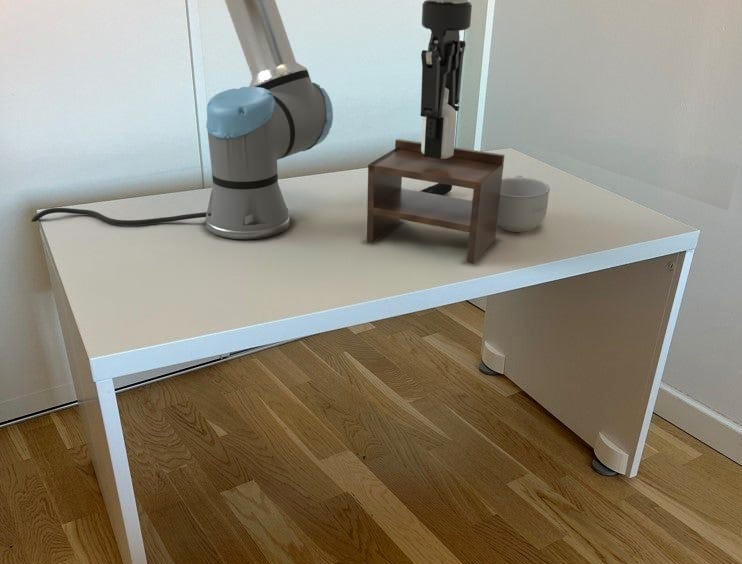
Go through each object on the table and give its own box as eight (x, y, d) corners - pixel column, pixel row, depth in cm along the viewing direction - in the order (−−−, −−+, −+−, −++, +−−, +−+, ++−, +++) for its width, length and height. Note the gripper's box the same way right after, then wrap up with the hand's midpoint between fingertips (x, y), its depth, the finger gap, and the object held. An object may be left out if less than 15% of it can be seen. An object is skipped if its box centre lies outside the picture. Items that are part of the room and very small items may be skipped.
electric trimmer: (456, 195, 157) (457, 180, 156) (413, 214, 147) (414, 198, 145) (441, 191, 159) (442, 176, 158) (398, 209, 149) (398, 194, 147)
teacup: (539, 240, 137) (545, 197, 132) (480, 232, 139) (484, 190, 135) (549, 215, 148) (555, 175, 144) (495, 208, 151) (499, 168, 146)
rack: (366, 242, 134) (368, 155, 126) (394, 221, 143) (397, 138, 135) (473, 264, 127) (482, 173, 119) (495, 240, 136) (504, 154, 128)
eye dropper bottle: (432, 160, 124) (437, 84, 118) (418, 151, 129) (422, 77, 122) (456, 158, 126) (462, 83, 119) (441, 149, 130) (446, 76, 124)
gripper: (451, 7, 107) (439, 170, 119) (488, -3, 120) (474, 145, 132) (402, 3, 110) (396, 163, 122) (444, -7, 123) (435, 139, 135)
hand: (437, 153), depth 127 cm, fingers closed on eye dropper bottle, 4 cm apart
